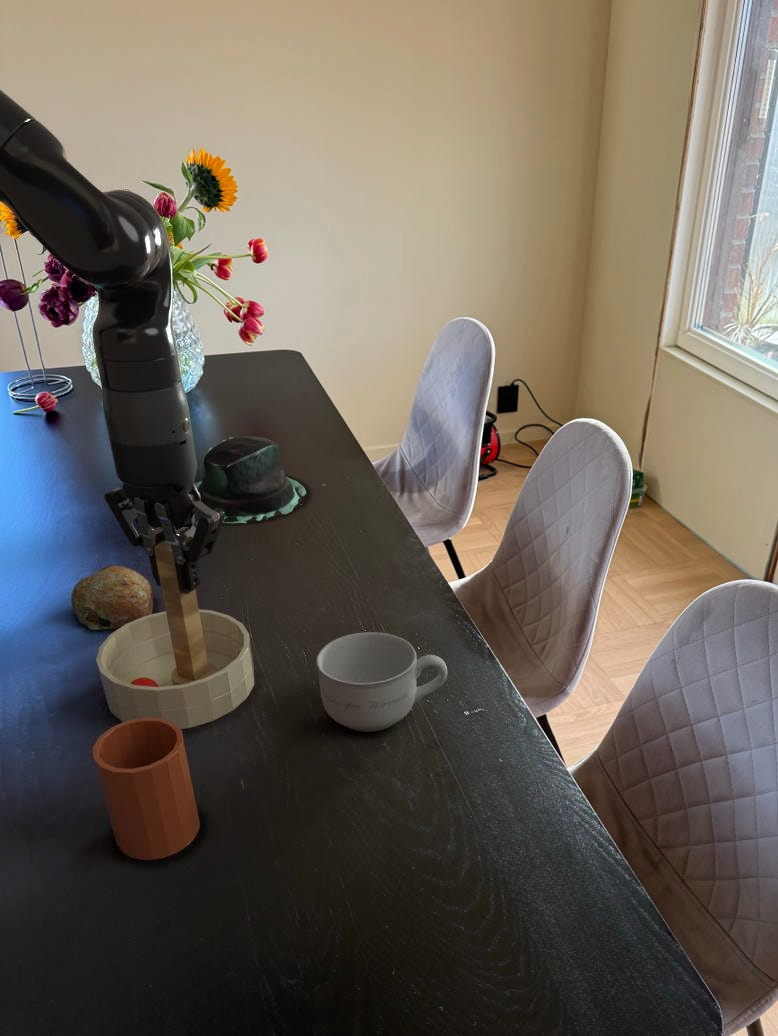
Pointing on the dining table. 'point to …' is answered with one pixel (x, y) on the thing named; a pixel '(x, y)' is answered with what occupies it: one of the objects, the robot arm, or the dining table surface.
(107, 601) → the bread roll
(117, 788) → the crock
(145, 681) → the tomato
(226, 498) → the dark fedora hat
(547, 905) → the dining table surface
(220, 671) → the bowl
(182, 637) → the wooden pestle
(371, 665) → the teacup
